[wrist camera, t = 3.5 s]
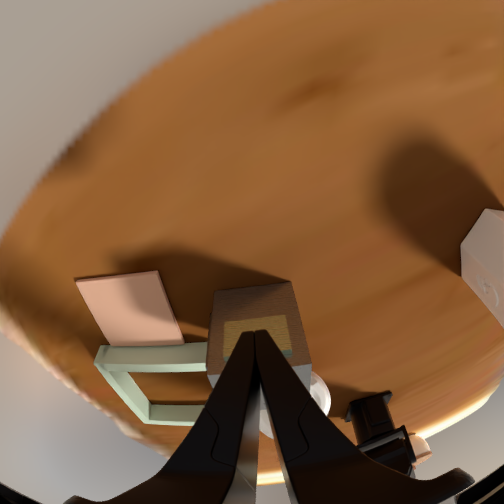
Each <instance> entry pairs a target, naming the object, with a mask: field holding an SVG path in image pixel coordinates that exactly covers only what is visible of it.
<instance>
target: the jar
mask: <svg viewBox="0 0 504 504" xmlns="http://www.w3.org/2000/svg"><path fill="white" fill-rule="evenodd" d="M460 247H461V277H462V279H463V280H464V281H465V282H466V283H467V285H468V286H469V287H470V288H471V289H472V290H473V291H474V293H475V294H476V295H477V296H478V297H479V298H480V300H481V301H482V302H483V303H484V304H485V305H486V307H487V308H488V309H489V310H490V312H491V313H492V314H493V315H494V317H495V318H496V319H497V320H498V322H499V323H500V324H501V326H502V327H503V328H504V211H500V210H493V209H487V208H486V209H484V211H483V212H482V214H481V215H480V217H479V218H478V220H477V222H476V223H475V224H474V226H473V227H472V229H471V230H470V232H469V233H468V235H467V236H466V237H465V239H464V240H463V242H462V243H461V245H460Z"/></svg>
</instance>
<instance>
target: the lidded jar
mask: <svg viewBox="0 0 504 504" xmlns="http://www.w3.org/2000/svg"><path fill="white" fill-rule="evenodd" d="M402 439H405V438H402ZM409 439H410V442H411V444H412V447H413V450H414V453H415V457H416V460H417V462H415V463H413V464H412V466H413V470H415V469H416V467H415V466H416V465H418V464H420V463H421V462H423V461H425V460H427V459H428V458H429V457H431V456H432V452H431V451H430V448H429V446H428V444H427V442H426V441H425V440H424V439H423V438H422V437H419V436H416V435H415V434H413V435H409Z"/></svg>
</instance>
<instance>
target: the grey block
mask: <svg viewBox="0 0 504 504" xmlns="http://www.w3.org/2000/svg"><path fill="white" fill-rule="evenodd" d="M261 329H266V330H267V331H268V332H269V334H270V335H271V337H272V338H273V340H274V341H275V343H276V344H277V346H278V347H279V349H280V350H281V352H282V353H283V355H284V356H285V358H286V359H287V361H288V362H289V364H290V365H291V367H292V368H293V370H294V371H295V372H296V374H297V375H298V377H299V378H300V380H301V381H302V383H303V384H304V385H305V387H306V388H307V390H308V391H309V393H310V384H311V369H312V362H311V358H310V354H309V350H308V346H307V342H306V338H305V334H304V330H303V326H302V322H301V318H300V314H299V310H298V306H297V302H296V298H295V294H294V291H293V287H292V283H291V282H285V283H277V284H269V285H261V286H253V287H245V288H237V289H228V290H219V291H215V292H214V302H213V312H212V313H210V321H209V332H208V342H207V353H206V364H205V368H206V370H207V376H208V378H209V381H210V383H211V385H212V387H213V388H214V386H215V384H216V382H217V380H218V378H219V376H220V374H221V372H222V370H223V368H224V367H225V365H226V363H227V361H228V359H229V357H230V355H231V353H232V351H233V349H234V347H235V345H236V343H237V341H238V339H239V337H240V335H241V333H242V332H244V331H254V332H255V330H261ZM260 410H266V406H265V402H264V398H263V393H262V389H261V402H260Z"/></svg>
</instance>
